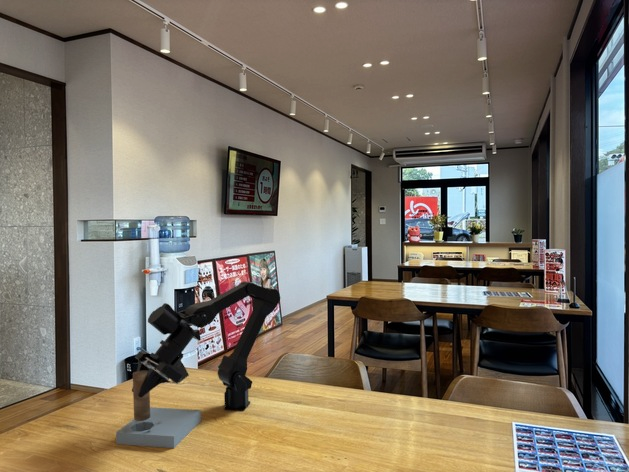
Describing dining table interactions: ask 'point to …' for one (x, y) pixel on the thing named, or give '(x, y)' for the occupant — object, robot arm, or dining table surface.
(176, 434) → the plate
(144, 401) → the peg
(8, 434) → the dining table surface
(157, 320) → the robot arm
